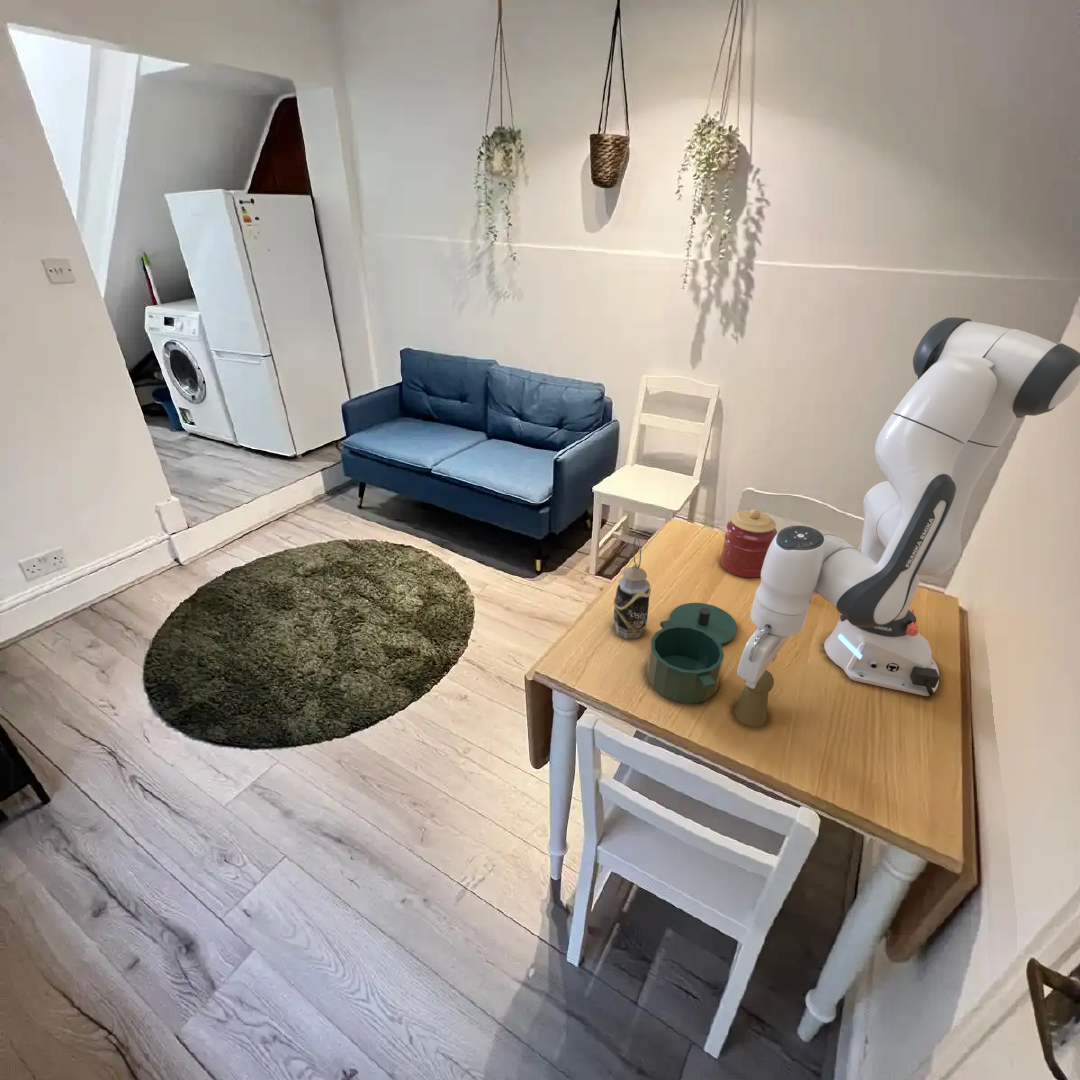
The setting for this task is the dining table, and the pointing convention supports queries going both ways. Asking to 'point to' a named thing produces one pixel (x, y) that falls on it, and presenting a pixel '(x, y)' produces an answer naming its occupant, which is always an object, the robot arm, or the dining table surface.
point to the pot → (684, 663)
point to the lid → (706, 620)
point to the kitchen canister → (747, 542)
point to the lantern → (632, 601)
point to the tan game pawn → (755, 702)
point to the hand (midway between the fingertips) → (760, 671)
